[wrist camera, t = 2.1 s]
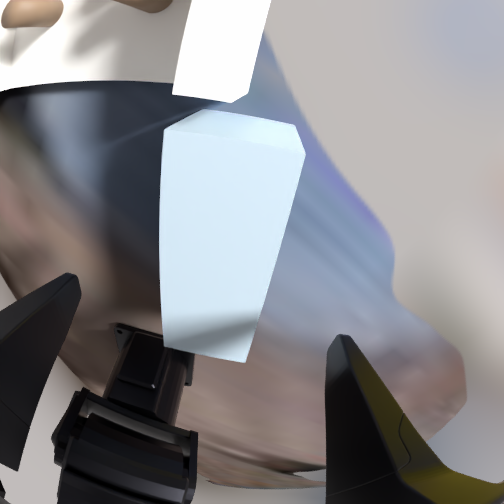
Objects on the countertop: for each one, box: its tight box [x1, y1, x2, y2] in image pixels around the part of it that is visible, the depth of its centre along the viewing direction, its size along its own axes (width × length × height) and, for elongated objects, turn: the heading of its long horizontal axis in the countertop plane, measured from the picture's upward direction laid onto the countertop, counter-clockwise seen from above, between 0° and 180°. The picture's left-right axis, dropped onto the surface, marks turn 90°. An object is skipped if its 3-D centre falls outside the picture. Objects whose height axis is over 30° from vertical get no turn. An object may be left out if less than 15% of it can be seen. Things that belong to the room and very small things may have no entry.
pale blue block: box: [159, 109, 306, 363], centre depth 12 cm, size 10×4×5 cm, turn 169°
